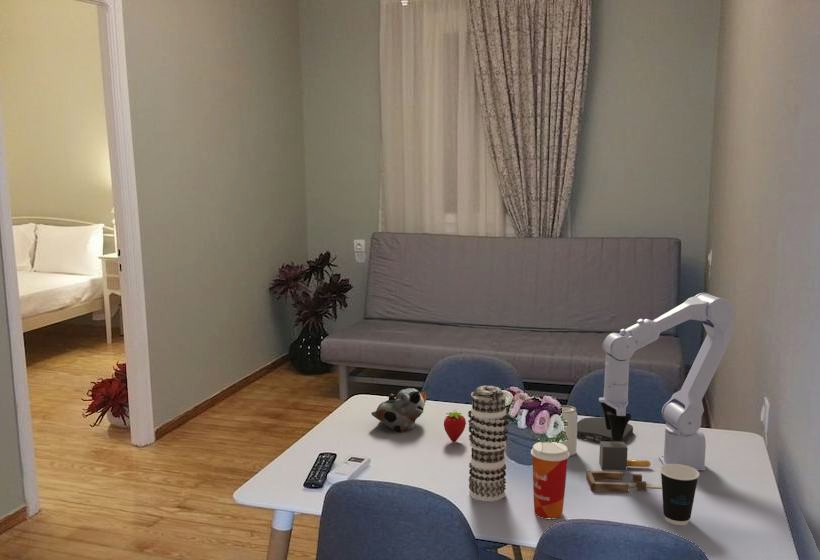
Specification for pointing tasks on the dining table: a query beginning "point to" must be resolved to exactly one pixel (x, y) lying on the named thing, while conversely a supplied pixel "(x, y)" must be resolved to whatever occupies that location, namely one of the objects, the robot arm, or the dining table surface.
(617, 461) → the grey block with handle
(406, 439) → the dining table surface
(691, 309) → the robot arm
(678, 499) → the dixie cup
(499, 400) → the decorative candle
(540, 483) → the coffee cup
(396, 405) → the lucky cat figurine
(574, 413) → the can
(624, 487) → the holder
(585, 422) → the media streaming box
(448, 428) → the strawberry
